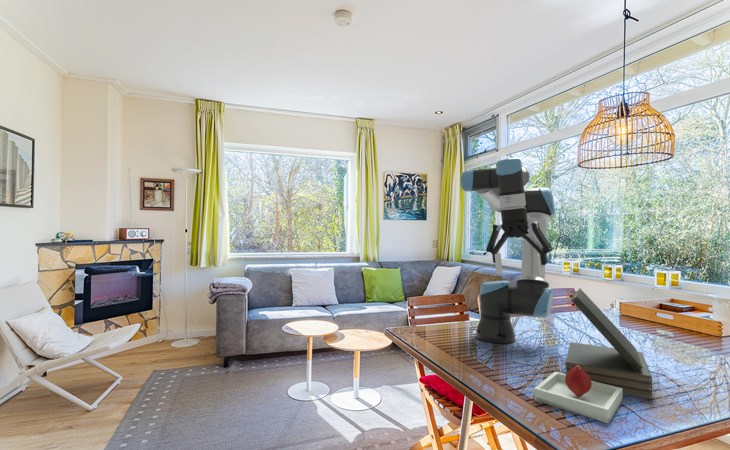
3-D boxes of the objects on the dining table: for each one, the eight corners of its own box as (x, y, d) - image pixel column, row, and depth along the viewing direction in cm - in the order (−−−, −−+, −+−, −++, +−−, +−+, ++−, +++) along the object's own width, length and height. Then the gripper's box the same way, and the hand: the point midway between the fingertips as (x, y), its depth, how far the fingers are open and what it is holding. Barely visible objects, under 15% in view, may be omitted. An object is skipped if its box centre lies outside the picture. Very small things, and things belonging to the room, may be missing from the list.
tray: (534, 400, 92) (534, 388, 92) (555, 382, 103) (555, 371, 103) (608, 423, 80) (608, 409, 81) (622, 400, 92) (622, 388, 92)
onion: (560, 391, 94) (559, 361, 95) (581, 390, 95) (580, 360, 95) (575, 401, 89) (574, 369, 89) (597, 401, 89) (596, 368, 89)
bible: (652, 400, 92) (650, 303, 93) (565, 383, 103) (564, 296, 104) (643, 372, 111) (641, 291, 112) (570, 360, 122) (569, 286, 123)
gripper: (471, 212, 120) (478, 274, 121) (550, 205, 102) (557, 279, 103) (482, 209, 125) (489, 269, 126) (559, 203, 107) (566, 273, 108)
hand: (520, 274), depth 115 cm, fingers open, 13 cm apart
